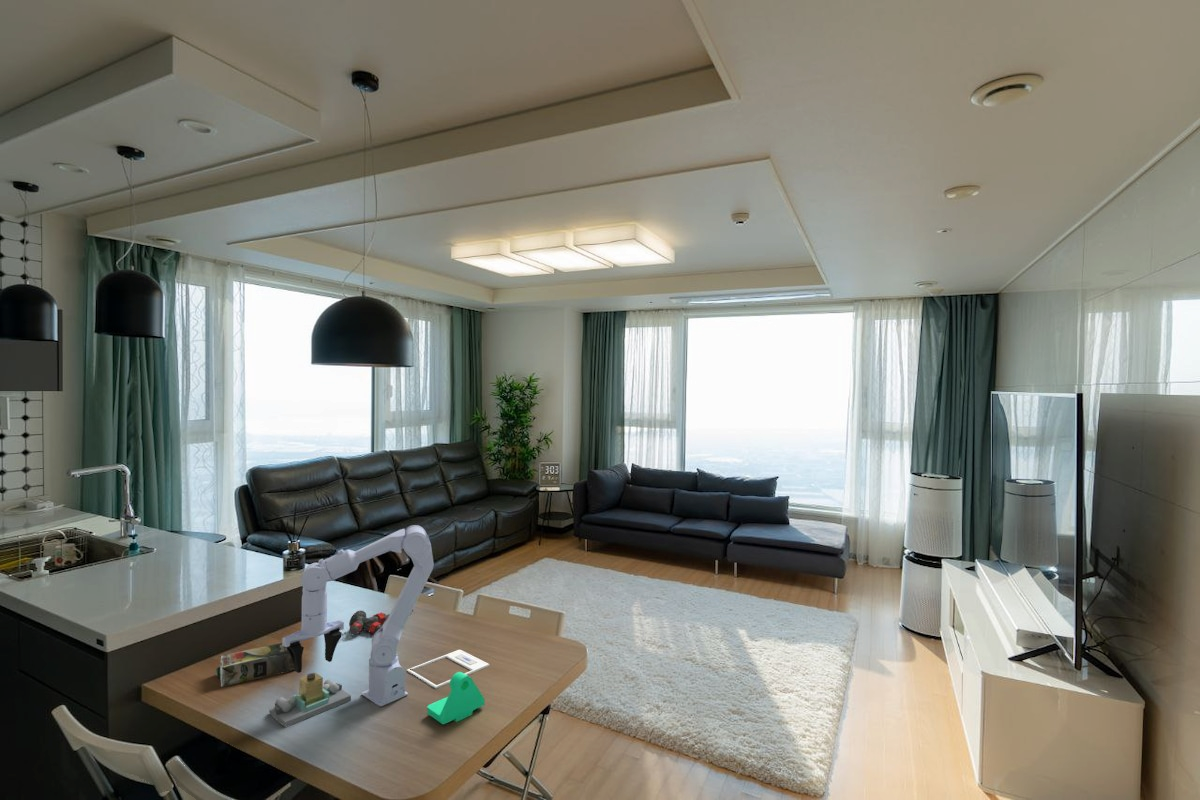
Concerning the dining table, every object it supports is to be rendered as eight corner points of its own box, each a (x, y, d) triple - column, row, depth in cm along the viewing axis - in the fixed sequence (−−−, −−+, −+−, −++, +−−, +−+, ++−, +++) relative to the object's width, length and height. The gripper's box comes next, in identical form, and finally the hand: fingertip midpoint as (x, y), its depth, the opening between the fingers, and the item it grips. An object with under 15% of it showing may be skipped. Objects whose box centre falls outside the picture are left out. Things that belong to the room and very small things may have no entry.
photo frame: (489, 663, 167) (435, 686, 153) (489, 667, 167) (435, 690, 153) (459, 648, 176) (406, 668, 162) (459, 652, 176) (406, 672, 162)
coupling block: (322, 701, 143) (322, 674, 143) (305, 707, 140) (306, 680, 140) (314, 695, 146) (315, 669, 146) (298, 702, 143) (299, 675, 143)
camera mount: (466, 698, 149) (467, 659, 149) (484, 709, 144) (485, 668, 144) (425, 716, 140) (426, 675, 140) (443, 729, 135) (444, 685, 135)
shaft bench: (350, 700, 146) (351, 686, 146) (285, 727, 134) (285, 712, 134) (333, 688, 152) (334, 675, 152) (269, 713, 140) (269, 699, 140)
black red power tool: (369, 651, 180) (338, 634, 187) (428, 626, 203) (398, 612, 210) (372, 631, 180) (341, 615, 186) (431, 609, 203) (401, 595, 209)
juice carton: (216, 689, 151) (217, 666, 151) (216, 675, 159) (216, 653, 159) (301, 671, 162) (301, 649, 163) (296, 658, 171) (297, 637, 171)
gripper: (334, 600, 152) (334, 651, 152) (277, 616, 141) (276, 671, 141) (348, 607, 148) (347, 659, 148) (289, 623, 136) (288, 680, 136)
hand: (313, 665), depth 144 cm, fingers open, 7 cm apart
